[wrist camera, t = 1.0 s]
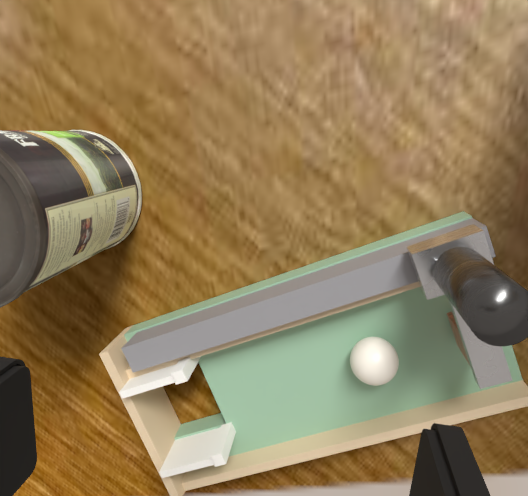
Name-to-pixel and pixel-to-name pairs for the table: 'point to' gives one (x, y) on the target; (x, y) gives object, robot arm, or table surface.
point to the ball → (374, 361)
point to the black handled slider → (474, 299)
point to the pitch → (302, 366)
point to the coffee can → (60, 203)
